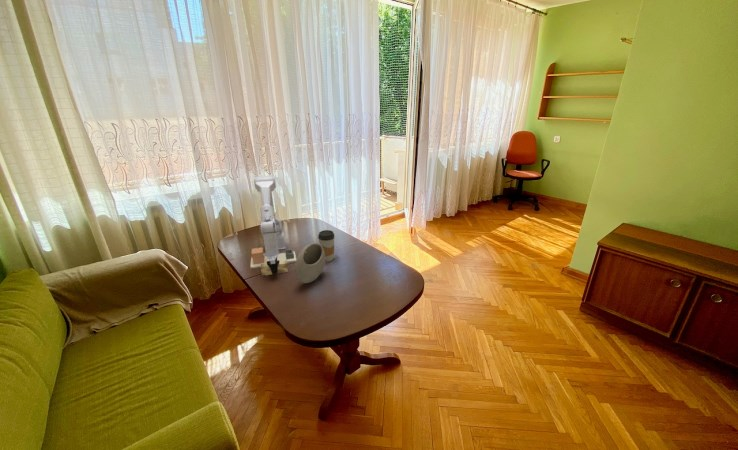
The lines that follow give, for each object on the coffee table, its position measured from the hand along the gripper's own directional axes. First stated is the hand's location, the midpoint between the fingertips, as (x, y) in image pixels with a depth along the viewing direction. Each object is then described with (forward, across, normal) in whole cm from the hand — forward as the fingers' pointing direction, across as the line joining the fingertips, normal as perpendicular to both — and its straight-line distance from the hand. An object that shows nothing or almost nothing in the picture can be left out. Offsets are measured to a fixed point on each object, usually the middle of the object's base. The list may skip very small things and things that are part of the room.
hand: (274, 269), depth 144 cm
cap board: (+1, -12, 0) cm, 12 cm away
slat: (+2, 0, 0) cm, 2 cm away
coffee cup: (+2, -5, +27) cm, 28 cm away
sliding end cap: (0, -12, -7) cm, 14 cm away
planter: (+2, +13, +16) cm, 21 cm away
